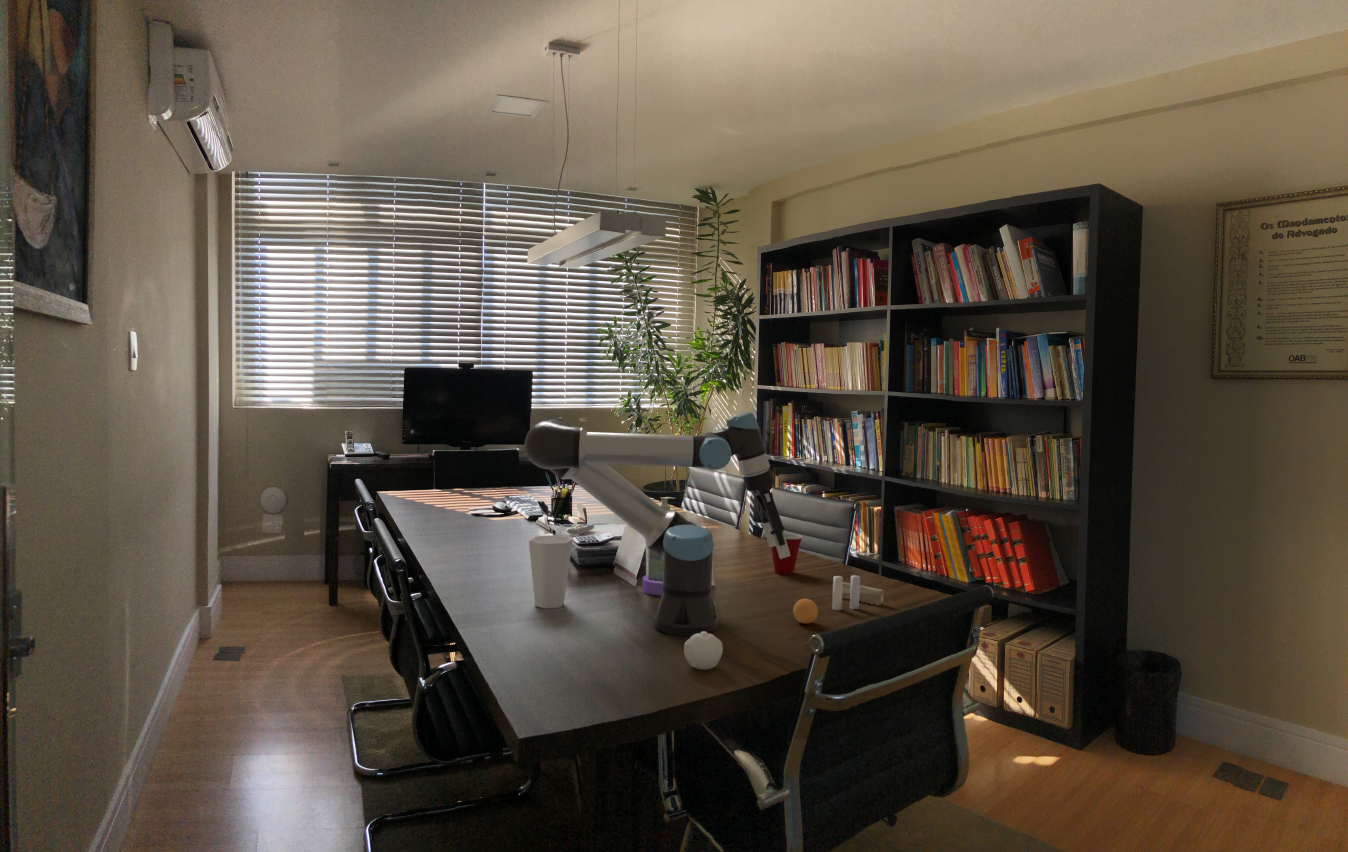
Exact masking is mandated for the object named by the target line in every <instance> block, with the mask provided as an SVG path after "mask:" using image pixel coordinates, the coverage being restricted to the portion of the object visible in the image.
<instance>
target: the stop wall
mask: <svg viewBox="0 0 1348 852" xmlns="http://www.w3.org/2000/svg"><path fill="white" fill-rule="evenodd" d="M850 586H851V582H845V581H843V587H842V599H845V600H849V599H850ZM831 596H832V597H833V590H832V593H831ZM859 601H861V602H860V603H864V602H865V604H868V603H870V605H873V604H875V605H874V606H878V605H880V606H882V605H883V604H884V589H880V588H876V587H871V586H866V585H862V584H860V594H859ZM881 604H882V605H881Z"/></svg>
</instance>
